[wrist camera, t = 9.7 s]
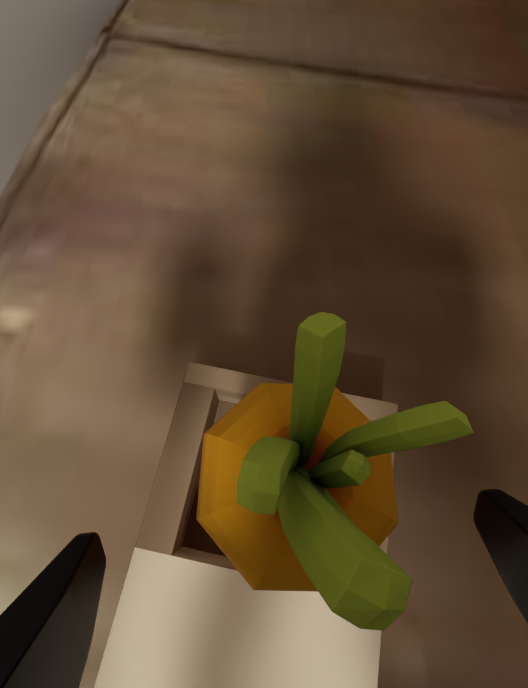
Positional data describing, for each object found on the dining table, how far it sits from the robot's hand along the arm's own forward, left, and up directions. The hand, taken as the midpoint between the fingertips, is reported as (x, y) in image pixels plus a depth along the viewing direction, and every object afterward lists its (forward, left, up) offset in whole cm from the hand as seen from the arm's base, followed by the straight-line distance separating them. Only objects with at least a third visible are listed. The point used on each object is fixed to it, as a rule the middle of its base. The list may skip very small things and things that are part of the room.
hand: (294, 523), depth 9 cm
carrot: (0, -1, -10) cm, 10 cm away
